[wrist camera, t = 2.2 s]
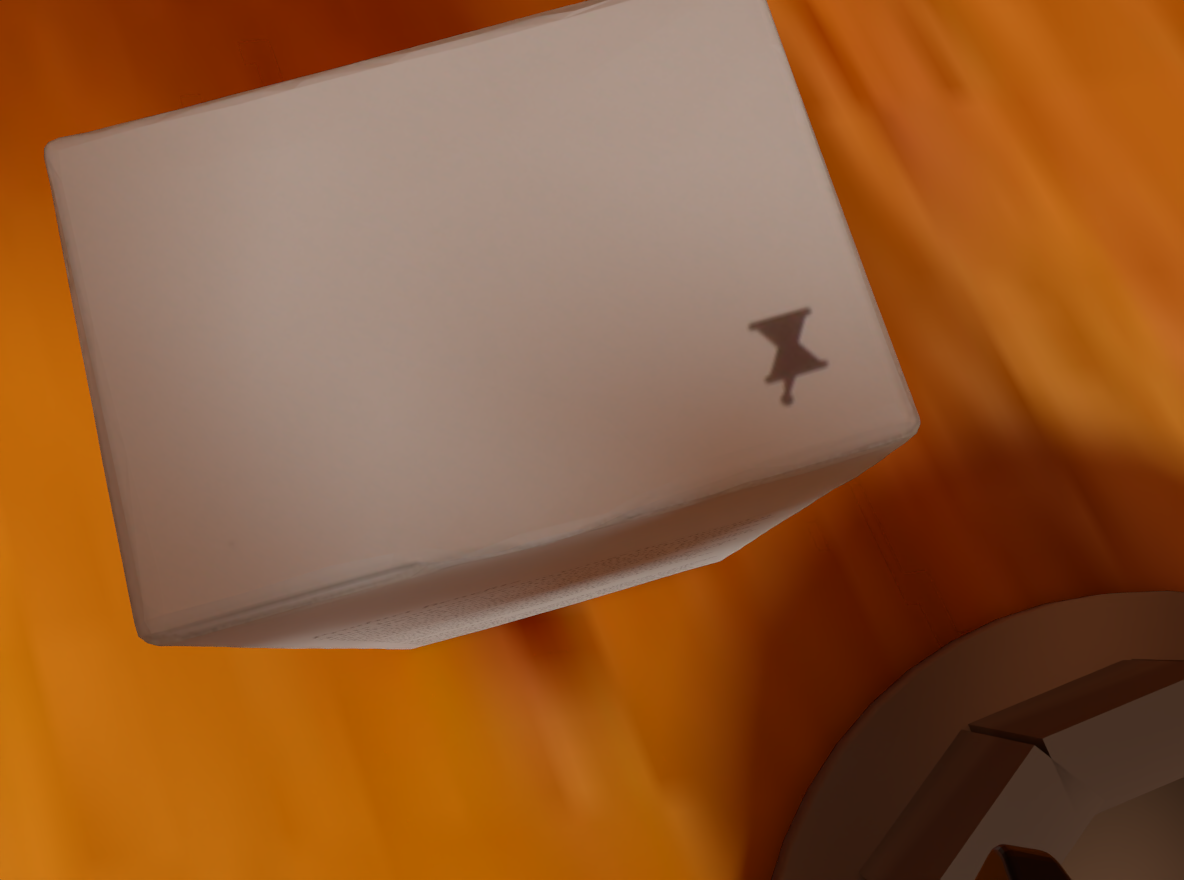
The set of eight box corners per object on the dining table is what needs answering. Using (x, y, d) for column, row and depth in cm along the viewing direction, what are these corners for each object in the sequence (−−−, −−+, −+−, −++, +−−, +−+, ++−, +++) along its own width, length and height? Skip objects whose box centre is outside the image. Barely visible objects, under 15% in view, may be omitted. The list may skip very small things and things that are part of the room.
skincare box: (658, 338, 21) (777, -64, 9) (726, 562, 20) (953, 444, 8) (335, 426, 20) (15, 124, 9) (393, 657, 20) (132, 675, 8)
